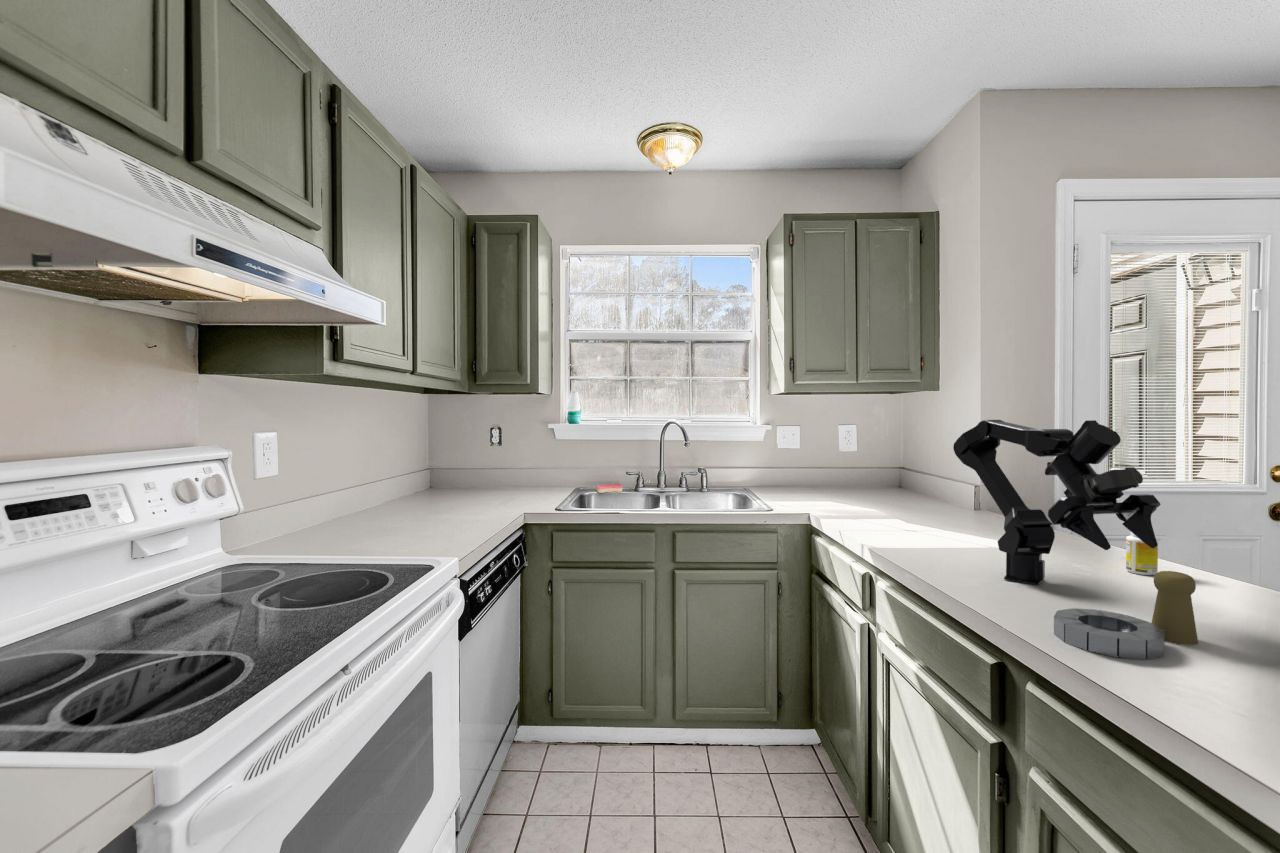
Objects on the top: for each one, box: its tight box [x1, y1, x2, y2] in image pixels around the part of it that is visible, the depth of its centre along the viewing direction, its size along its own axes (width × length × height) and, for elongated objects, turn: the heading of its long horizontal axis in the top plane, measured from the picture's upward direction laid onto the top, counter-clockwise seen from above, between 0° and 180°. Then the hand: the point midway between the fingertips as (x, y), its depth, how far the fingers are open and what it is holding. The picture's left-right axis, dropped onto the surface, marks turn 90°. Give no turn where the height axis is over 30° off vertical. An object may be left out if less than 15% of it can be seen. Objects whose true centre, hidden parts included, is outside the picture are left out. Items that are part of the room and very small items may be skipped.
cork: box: [1151, 570, 1199, 646], centre depth 97 cm, size 6×6×11 cm
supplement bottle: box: [1125, 531, 1159, 576], centre depth 135 cm, size 6×6×10 cm
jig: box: [1053, 607, 1165, 661], centre depth 96 cm, size 14×14×3 cm
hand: (1131, 547), depth 105 cm, fingers open, 9 cm apart
